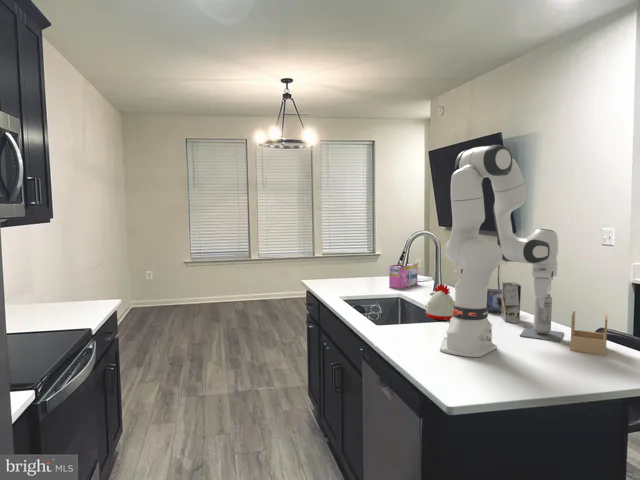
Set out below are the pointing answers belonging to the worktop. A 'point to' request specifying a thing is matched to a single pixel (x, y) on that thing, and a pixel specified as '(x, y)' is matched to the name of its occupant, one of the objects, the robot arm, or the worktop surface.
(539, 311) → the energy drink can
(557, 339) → the mat
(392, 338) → the worktop surface
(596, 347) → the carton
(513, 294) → the coffee box
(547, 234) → the robot arm
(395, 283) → the gum box
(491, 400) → the worktop surface
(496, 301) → the small box
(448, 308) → the kitchen timer
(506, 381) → the worktop surface
